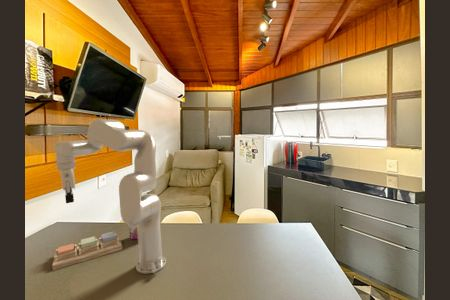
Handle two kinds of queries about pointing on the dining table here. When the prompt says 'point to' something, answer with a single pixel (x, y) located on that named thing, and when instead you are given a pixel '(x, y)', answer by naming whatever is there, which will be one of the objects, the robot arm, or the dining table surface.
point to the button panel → (86, 253)
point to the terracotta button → (66, 249)
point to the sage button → (88, 242)
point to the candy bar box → (133, 232)
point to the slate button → (108, 237)
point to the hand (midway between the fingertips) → (70, 202)
